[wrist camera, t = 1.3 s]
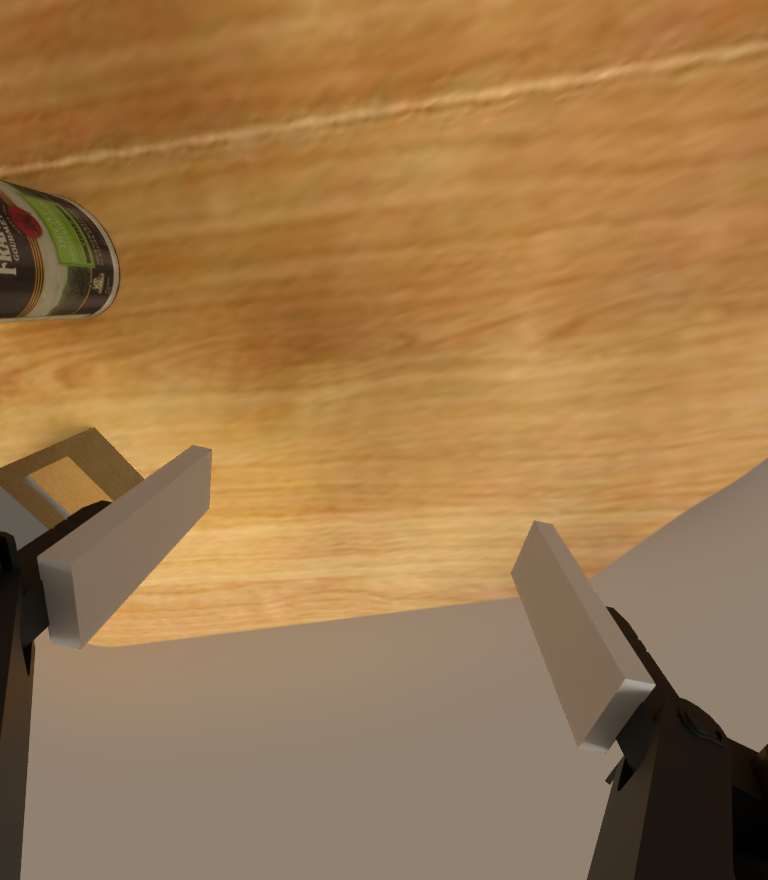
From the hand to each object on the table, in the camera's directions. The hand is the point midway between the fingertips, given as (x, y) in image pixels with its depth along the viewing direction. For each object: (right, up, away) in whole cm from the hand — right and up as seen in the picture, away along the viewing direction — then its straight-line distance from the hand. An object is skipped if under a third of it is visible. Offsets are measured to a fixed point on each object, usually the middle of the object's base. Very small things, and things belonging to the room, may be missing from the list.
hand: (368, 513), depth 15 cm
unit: (-32, -2, +27) cm, 42 cm away
